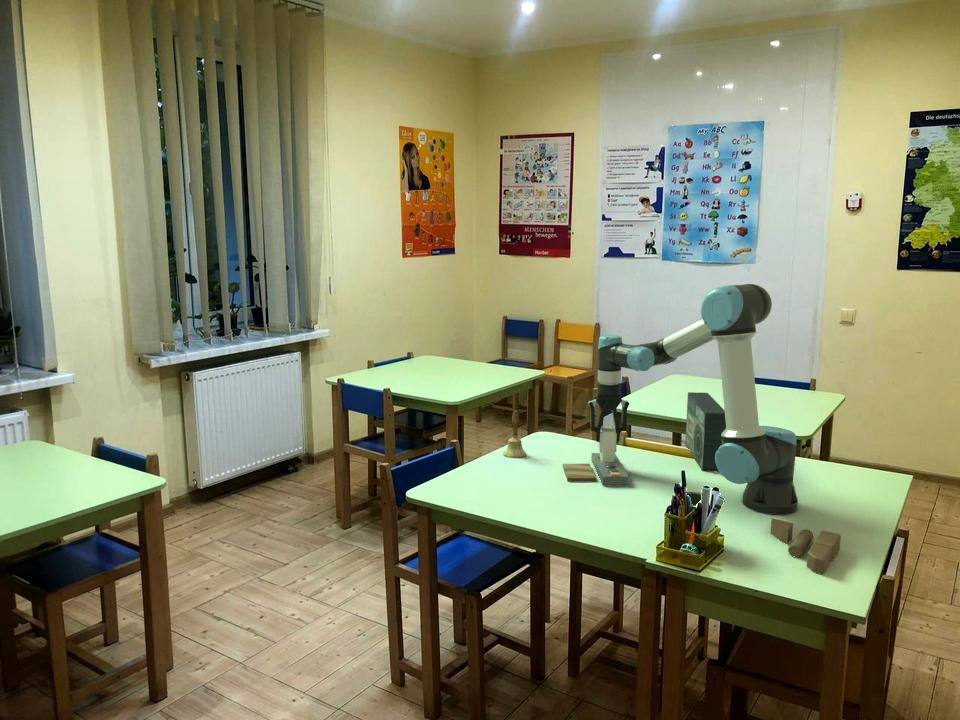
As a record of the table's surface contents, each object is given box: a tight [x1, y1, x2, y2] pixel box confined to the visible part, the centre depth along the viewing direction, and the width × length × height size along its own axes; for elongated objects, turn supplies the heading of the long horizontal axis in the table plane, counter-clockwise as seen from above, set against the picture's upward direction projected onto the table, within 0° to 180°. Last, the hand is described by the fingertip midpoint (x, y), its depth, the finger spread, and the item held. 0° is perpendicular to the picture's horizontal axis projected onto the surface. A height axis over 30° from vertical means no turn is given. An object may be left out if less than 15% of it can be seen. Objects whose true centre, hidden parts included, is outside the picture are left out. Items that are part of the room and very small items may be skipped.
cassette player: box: [684, 391, 726, 473], centre depth 259 cm, size 29×7×20 cm, turn 176°
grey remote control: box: [590, 452, 630, 486], centre depth 244 cm, size 24×8×4 cm, turn 0°
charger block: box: [599, 425, 616, 462], centre depth 248 cm, size 5×4×12 cm
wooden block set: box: [769, 517, 842, 575], centre depth 186 cm, size 17×6×18 cm
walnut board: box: [562, 463, 597, 483], centre depth 244 cm, size 14×9×1 cm, turn 0°
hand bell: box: [502, 410, 527, 459], centre depth 263 cm, size 8×8×16 cm
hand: (607, 450), depth 248 cm, fingers closed on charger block, 4 cm apart
